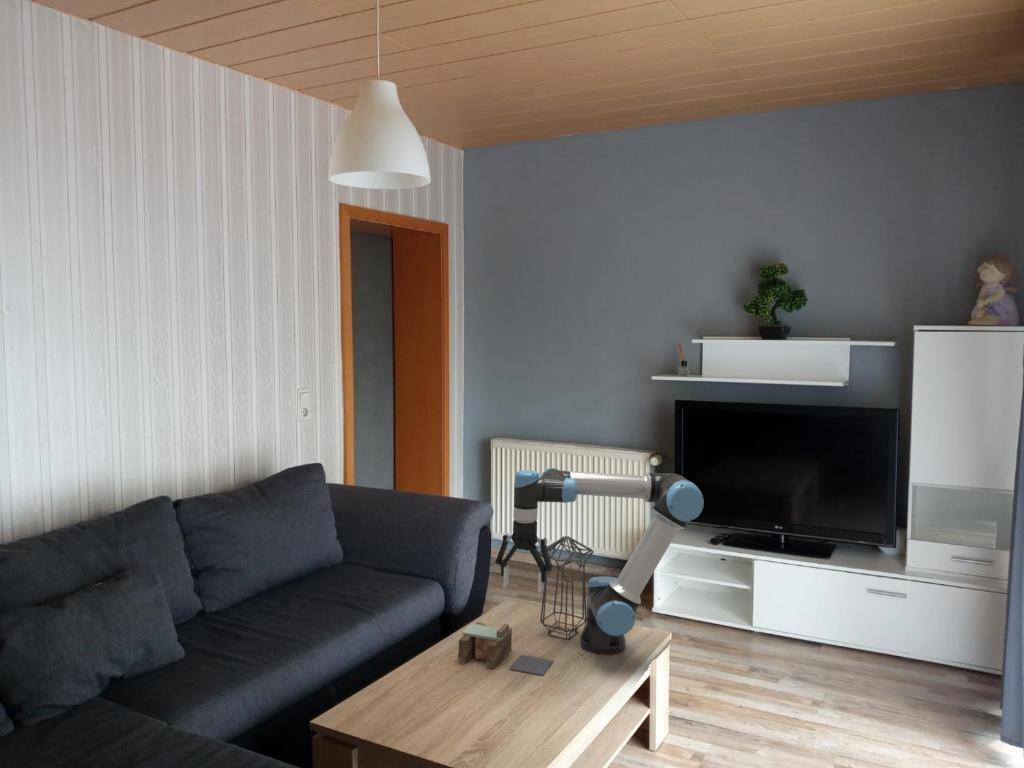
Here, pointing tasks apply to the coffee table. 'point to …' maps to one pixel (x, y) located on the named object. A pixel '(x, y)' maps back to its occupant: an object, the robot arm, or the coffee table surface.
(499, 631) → the cover
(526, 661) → the mat
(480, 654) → the block
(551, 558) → the geometric lantern
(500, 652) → the brown parallel walls
